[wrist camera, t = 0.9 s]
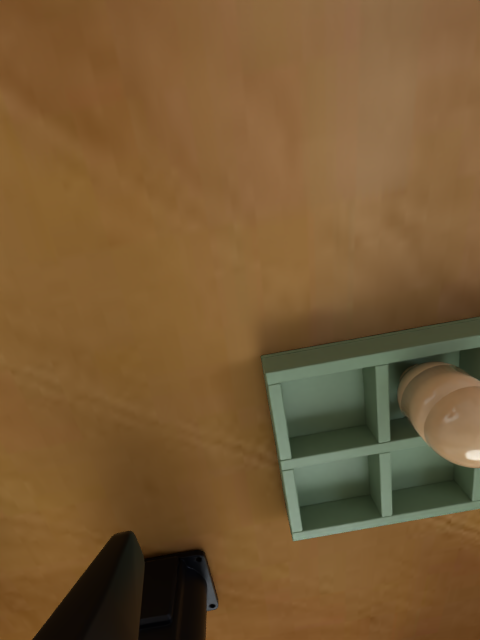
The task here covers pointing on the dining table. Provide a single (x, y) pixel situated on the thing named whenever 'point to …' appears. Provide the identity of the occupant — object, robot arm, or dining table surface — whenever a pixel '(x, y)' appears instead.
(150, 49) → the dining table surface
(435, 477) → the green compartment tray
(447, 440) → the beige rounded peg
